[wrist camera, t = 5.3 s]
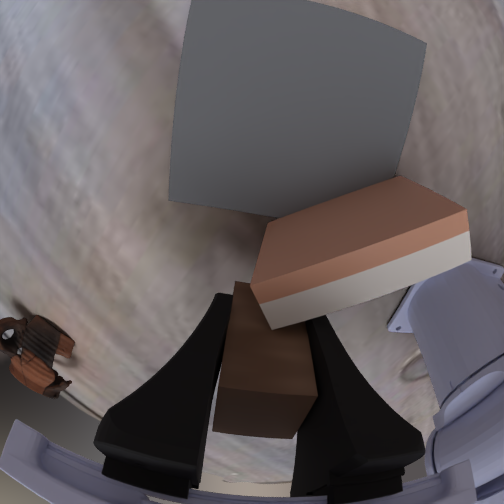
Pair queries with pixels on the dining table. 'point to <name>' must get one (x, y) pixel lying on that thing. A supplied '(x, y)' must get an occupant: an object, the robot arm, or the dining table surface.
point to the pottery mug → (36, 354)
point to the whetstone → (357, 250)
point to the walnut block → (263, 374)
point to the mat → (288, 104)
